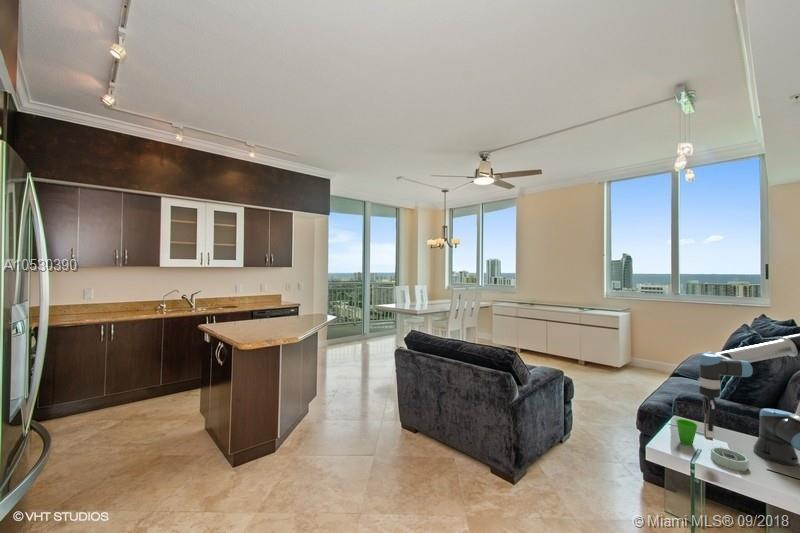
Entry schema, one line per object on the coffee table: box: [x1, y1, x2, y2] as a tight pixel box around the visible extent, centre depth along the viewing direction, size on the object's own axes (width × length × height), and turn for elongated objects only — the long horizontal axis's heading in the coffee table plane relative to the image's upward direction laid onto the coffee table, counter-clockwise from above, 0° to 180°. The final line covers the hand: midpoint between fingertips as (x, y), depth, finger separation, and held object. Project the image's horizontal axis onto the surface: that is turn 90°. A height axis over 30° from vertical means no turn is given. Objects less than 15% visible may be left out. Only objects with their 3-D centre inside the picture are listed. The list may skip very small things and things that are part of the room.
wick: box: [704, 412, 714, 441], centre depth 166 cm, size 2×2×12 cm
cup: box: [675, 418, 699, 446], centre depth 183 cm, size 9×9×11 cm
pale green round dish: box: [710, 446, 750, 471], centre depth 166 cm, size 13×13×4 cm
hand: (708, 435), depth 166 cm, fingers closed on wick, 2 cm apart
